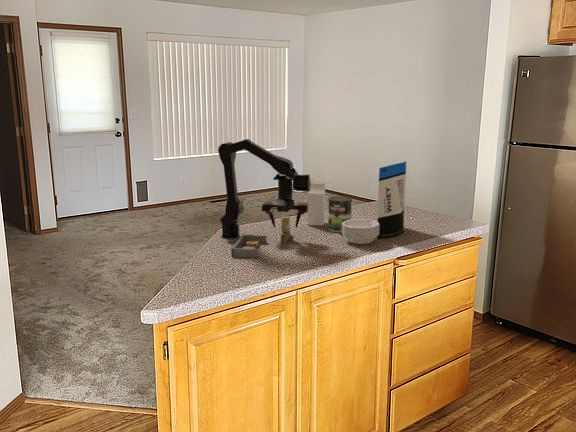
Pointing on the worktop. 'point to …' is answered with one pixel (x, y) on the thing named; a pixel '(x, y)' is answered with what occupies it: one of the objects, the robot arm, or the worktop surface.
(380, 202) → the protein powder
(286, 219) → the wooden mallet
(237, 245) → the tray
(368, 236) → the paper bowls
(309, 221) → the milk carton
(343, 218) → the coffee can
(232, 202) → the robot arm
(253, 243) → the tan square block
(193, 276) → the worktop surface
